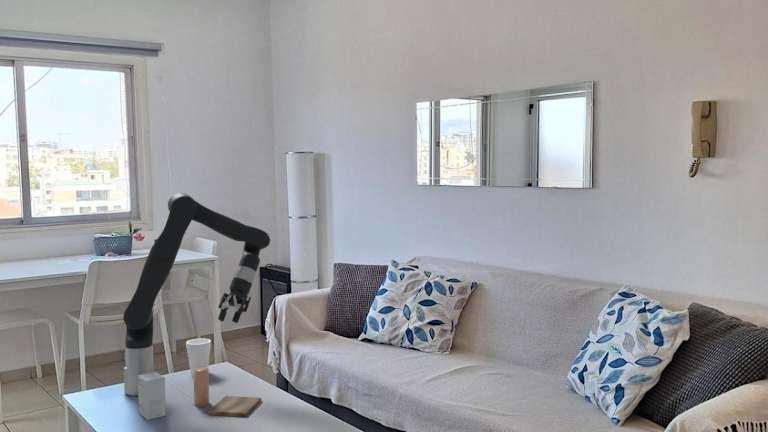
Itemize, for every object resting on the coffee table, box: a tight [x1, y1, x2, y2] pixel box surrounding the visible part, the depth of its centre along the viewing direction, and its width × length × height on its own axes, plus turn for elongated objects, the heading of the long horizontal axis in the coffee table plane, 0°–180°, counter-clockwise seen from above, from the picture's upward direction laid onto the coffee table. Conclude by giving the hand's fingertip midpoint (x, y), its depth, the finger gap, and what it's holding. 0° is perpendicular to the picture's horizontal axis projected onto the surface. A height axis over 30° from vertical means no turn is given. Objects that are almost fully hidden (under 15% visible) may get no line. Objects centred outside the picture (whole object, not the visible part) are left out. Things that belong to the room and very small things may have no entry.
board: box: [207, 395, 262, 418], centre depth 228 cm, size 13×15×1 cm
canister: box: [193, 367, 210, 407], centre depth 231 cm, size 5×5×12 cm
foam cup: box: [185, 337, 212, 377], centre depth 265 cm, size 10×9×13 cm
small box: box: [137, 371, 167, 420], centre depth 221 cm, size 8×6×13 cm
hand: (227, 321), depth 244 cm, fingers open, 8 cm apart
